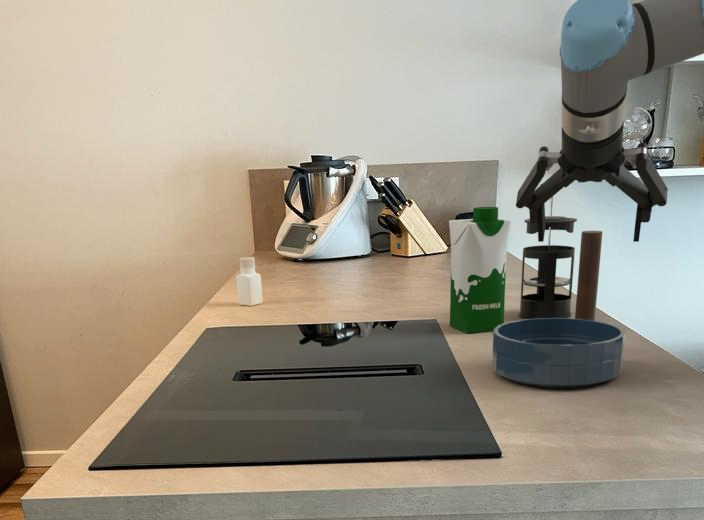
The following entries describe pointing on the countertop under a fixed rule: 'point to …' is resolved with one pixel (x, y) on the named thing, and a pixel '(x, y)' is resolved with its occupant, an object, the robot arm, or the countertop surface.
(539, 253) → the french press
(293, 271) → the countertop surface
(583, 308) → the brown wooden cylinder
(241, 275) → the pepper shaker
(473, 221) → the milk carton
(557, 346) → the bowl
